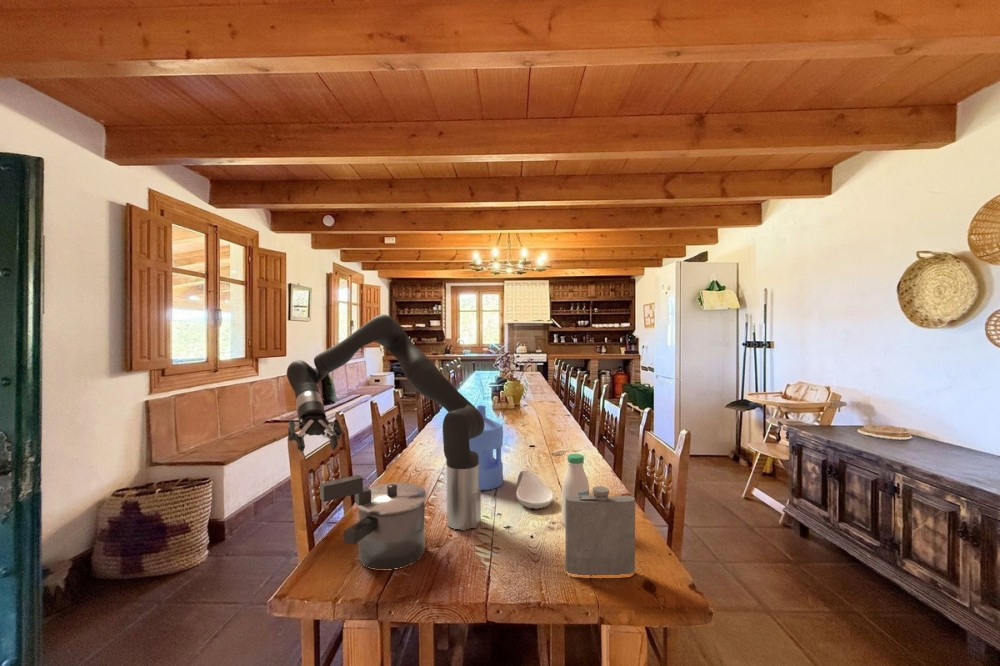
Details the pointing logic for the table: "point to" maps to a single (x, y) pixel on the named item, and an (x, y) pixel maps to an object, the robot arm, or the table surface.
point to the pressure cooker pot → (389, 538)
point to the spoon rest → (533, 491)
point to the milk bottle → (574, 480)
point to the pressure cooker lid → (375, 495)
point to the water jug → (489, 452)
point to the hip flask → (600, 534)
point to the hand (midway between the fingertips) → (318, 448)
